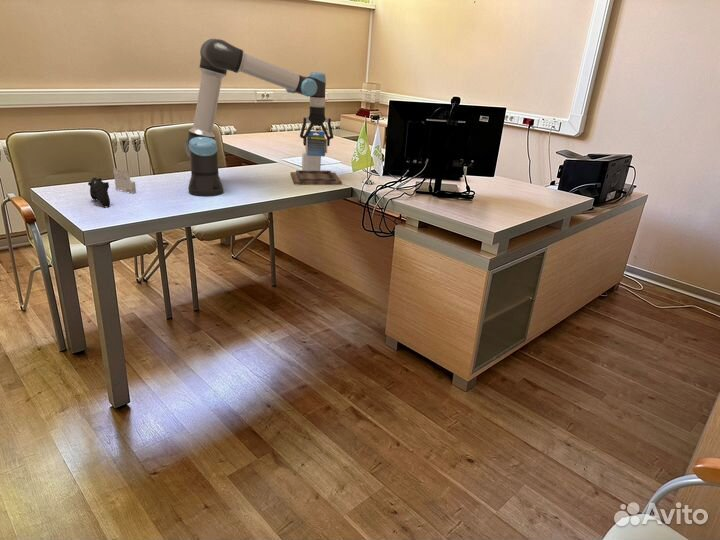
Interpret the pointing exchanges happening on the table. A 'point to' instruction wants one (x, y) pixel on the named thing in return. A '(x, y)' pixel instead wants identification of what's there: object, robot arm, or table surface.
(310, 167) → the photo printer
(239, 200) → the table surface
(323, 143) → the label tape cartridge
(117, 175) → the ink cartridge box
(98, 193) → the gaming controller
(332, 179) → the stand
